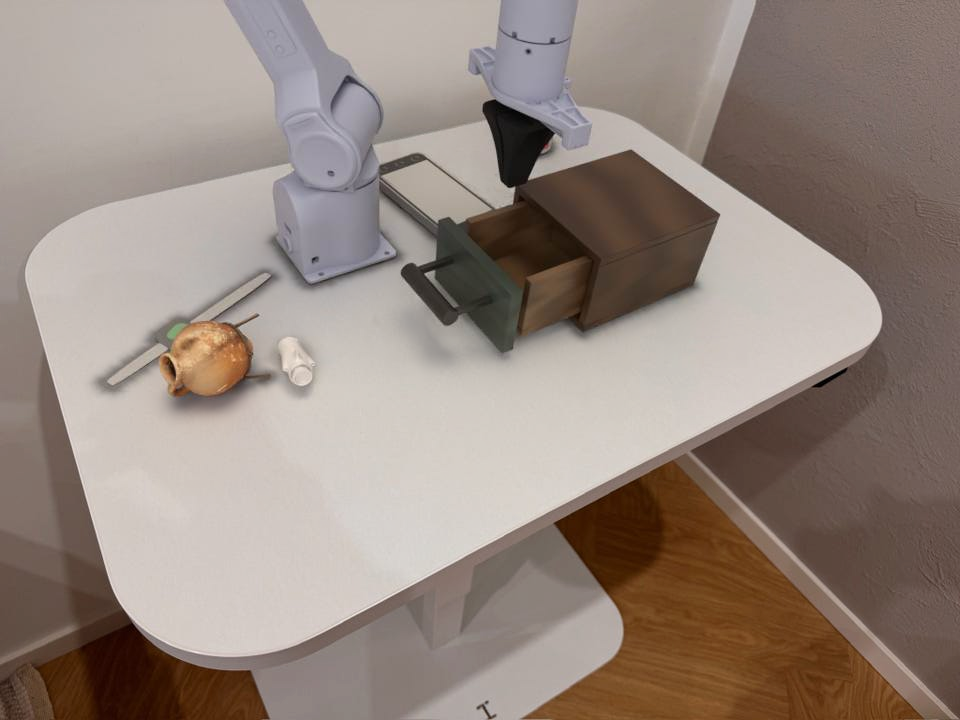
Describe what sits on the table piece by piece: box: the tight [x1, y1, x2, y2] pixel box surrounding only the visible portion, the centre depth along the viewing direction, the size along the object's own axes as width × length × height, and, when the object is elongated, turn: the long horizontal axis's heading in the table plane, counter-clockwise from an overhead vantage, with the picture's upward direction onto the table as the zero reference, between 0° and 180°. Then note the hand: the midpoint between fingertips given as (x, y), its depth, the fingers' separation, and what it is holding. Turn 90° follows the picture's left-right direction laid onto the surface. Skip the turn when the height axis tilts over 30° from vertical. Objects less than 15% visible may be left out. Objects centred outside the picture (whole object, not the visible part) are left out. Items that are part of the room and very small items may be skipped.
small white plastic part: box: [277, 336, 316, 387], centre depth 61 cm, size 4×6×3 cm, turn 179°
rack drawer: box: [400, 200, 594, 355], centre depth 67 cm, size 18×11×7 cm, turn 124°
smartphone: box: [379, 151, 497, 237], centre depth 81 cm, size 7×1×15 cm
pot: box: [158, 312, 272, 398], centre depth 59 cm, size 6×8×6 cm
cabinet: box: [512, 149, 721, 333], centre depth 72 cm, size 15×13×9 cm
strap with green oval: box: [106, 272, 272, 386], centre depth 65 cm, size 18×1×3 cm
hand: (513, 182), depth 67 cm, fingers closed
